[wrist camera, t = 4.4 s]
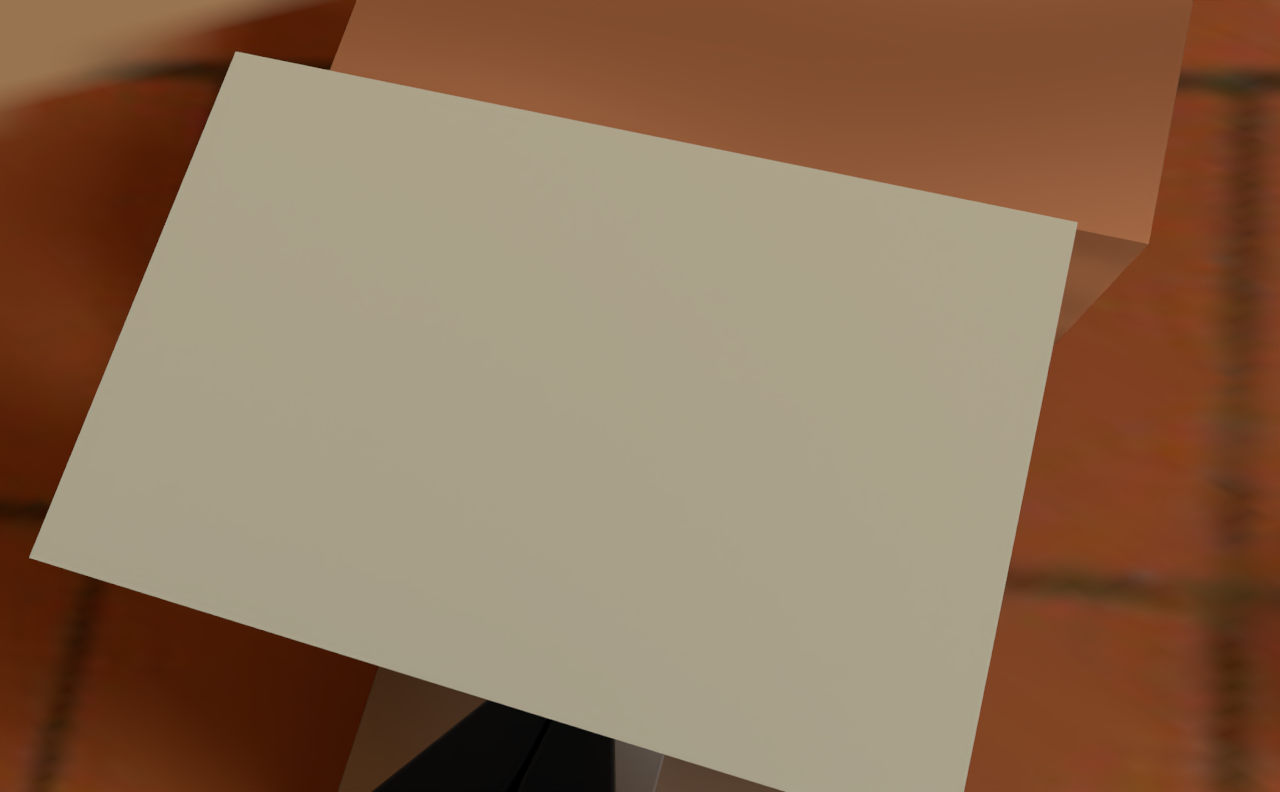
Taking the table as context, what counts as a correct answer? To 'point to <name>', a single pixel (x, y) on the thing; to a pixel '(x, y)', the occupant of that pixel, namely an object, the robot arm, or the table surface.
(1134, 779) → the table surface
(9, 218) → the table surface
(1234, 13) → the table surface
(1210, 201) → the table surface
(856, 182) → the block
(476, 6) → the track
